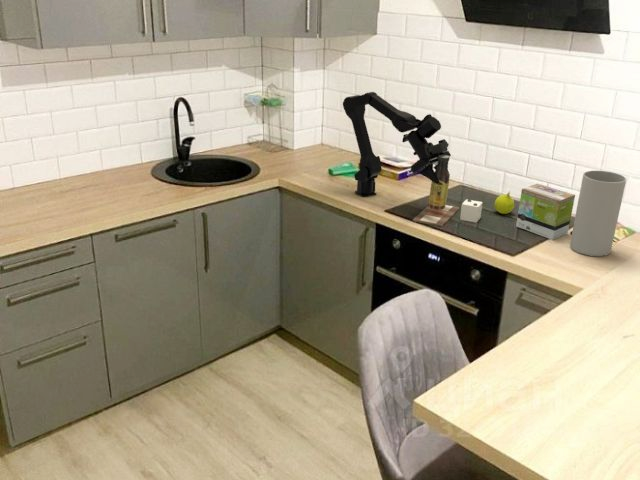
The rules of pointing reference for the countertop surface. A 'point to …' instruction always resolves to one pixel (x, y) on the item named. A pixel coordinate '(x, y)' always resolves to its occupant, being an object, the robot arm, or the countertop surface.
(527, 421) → the countertop surface
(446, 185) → the sauce bottle
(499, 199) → the yellow-green round fruit
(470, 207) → the die
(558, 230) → the tea box
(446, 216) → the walnut board
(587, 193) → the cylinder vase
